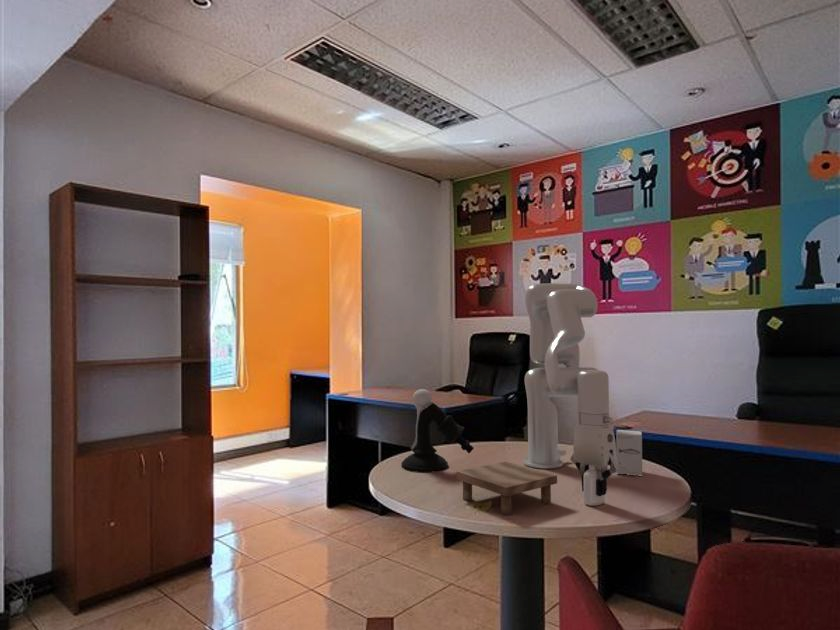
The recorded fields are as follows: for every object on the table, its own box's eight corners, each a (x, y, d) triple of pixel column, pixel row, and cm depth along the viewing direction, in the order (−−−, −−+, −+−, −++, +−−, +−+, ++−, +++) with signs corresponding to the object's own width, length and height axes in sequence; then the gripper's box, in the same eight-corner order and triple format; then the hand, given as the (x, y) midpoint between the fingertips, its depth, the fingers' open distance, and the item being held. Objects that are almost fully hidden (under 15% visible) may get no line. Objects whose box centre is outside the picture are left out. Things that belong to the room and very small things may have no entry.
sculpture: (408, 459, 177) (408, 386, 178) (477, 463, 172) (476, 387, 173) (395, 470, 162) (395, 390, 163) (470, 475, 157) (469, 392, 158)
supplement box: (616, 475, 157) (615, 433, 157) (617, 469, 164) (616, 429, 164) (643, 477, 154) (642, 434, 154) (642, 471, 161) (641, 430, 161)
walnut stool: (506, 486, 145) (505, 461, 145) (557, 503, 130) (557, 475, 130) (456, 498, 134) (456, 471, 134) (506, 518, 120) (506, 487, 120)
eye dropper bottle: (608, 506, 127) (608, 457, 128) (586, 506, 127) (585, 457, 128) (602, 500, 132) (601, 452, 132) (580, 500, 132) (579, 453, 132)
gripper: (631, 422, 126) (632, 498, 125) (575, 413, 139) (576, 482, 139) (613, 425, 121) (614, 504, 121) (557, 416, 135) (557, 487, 134)
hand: (594, 492), depth 130 cm, fingers closed on eye dropper bottle, 3 cm apart
